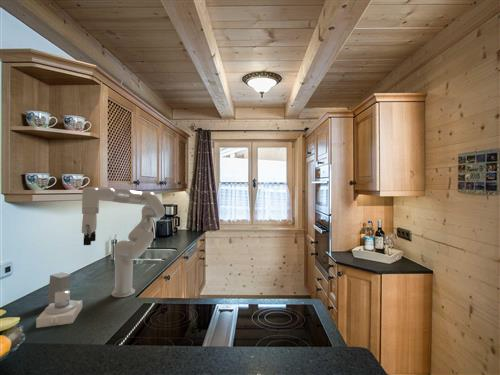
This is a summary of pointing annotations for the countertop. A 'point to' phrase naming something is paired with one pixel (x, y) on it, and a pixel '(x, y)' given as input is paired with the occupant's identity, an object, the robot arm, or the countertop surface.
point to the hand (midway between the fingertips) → (89, 243)
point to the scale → (59, 314)
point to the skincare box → (58, 285)
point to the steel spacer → (62, 298)
